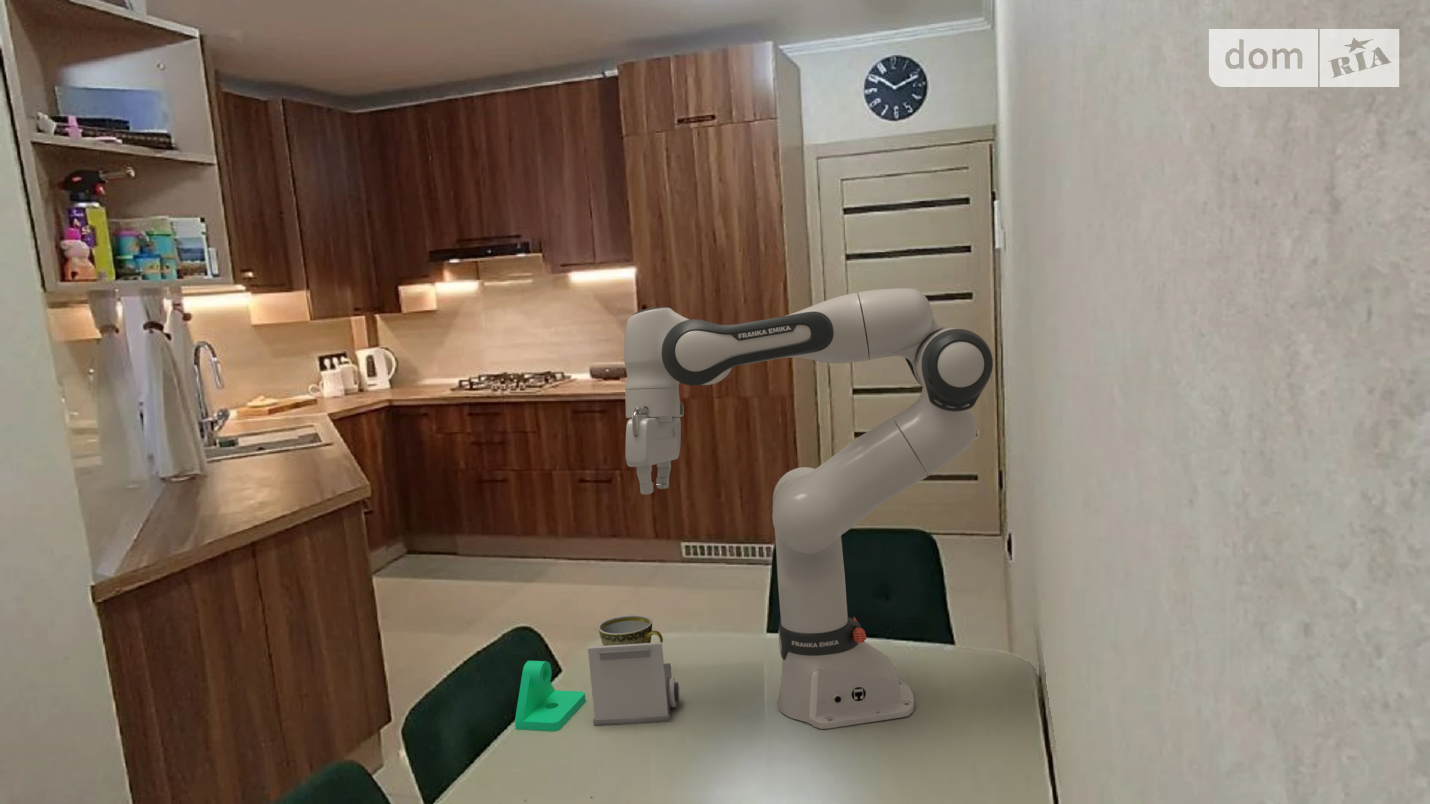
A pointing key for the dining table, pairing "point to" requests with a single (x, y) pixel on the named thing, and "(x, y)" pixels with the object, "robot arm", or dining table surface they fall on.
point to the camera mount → (544, 700)
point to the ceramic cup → (627, 630)
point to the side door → (628, 684)
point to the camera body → (671, 688)
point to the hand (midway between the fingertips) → (655, 491)
